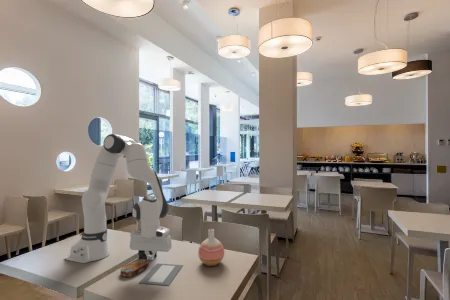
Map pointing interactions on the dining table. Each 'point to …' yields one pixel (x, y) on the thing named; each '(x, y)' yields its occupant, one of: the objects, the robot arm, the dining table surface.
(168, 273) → the mat
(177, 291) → the dining table surface
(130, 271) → the tin
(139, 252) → the blue oil drum
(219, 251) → the vase
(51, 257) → the dining table surface
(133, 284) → the dining table surface
